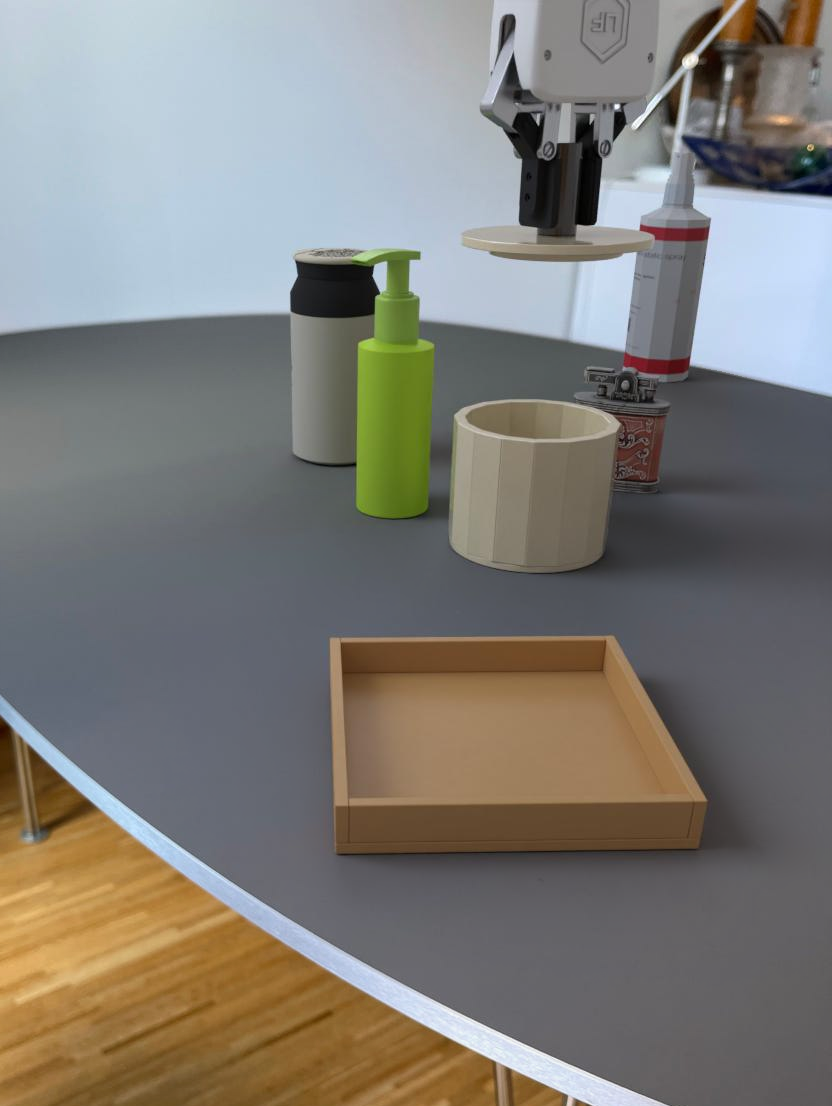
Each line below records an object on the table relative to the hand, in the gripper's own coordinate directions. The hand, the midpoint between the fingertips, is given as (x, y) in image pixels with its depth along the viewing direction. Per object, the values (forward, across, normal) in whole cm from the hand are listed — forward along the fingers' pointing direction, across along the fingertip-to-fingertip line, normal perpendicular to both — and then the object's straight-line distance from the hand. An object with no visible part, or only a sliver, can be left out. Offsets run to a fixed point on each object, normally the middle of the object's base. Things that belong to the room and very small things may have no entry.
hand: (557, 222), depth 70 cm
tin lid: (+1, 0, 0) cm, 1 cm away
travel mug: (+23, -1, +28) cm, 36 cm away
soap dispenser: (+23, -5, +13) cm, 26 cm away
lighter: (+23, +16, +8) cm, 29 cm away
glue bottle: (+23, +50, +36) cm, 66 cm away
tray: (+23, -20, -21) cm, 37 cm away
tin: (+23, 0, +1) cm, 23 cm away
